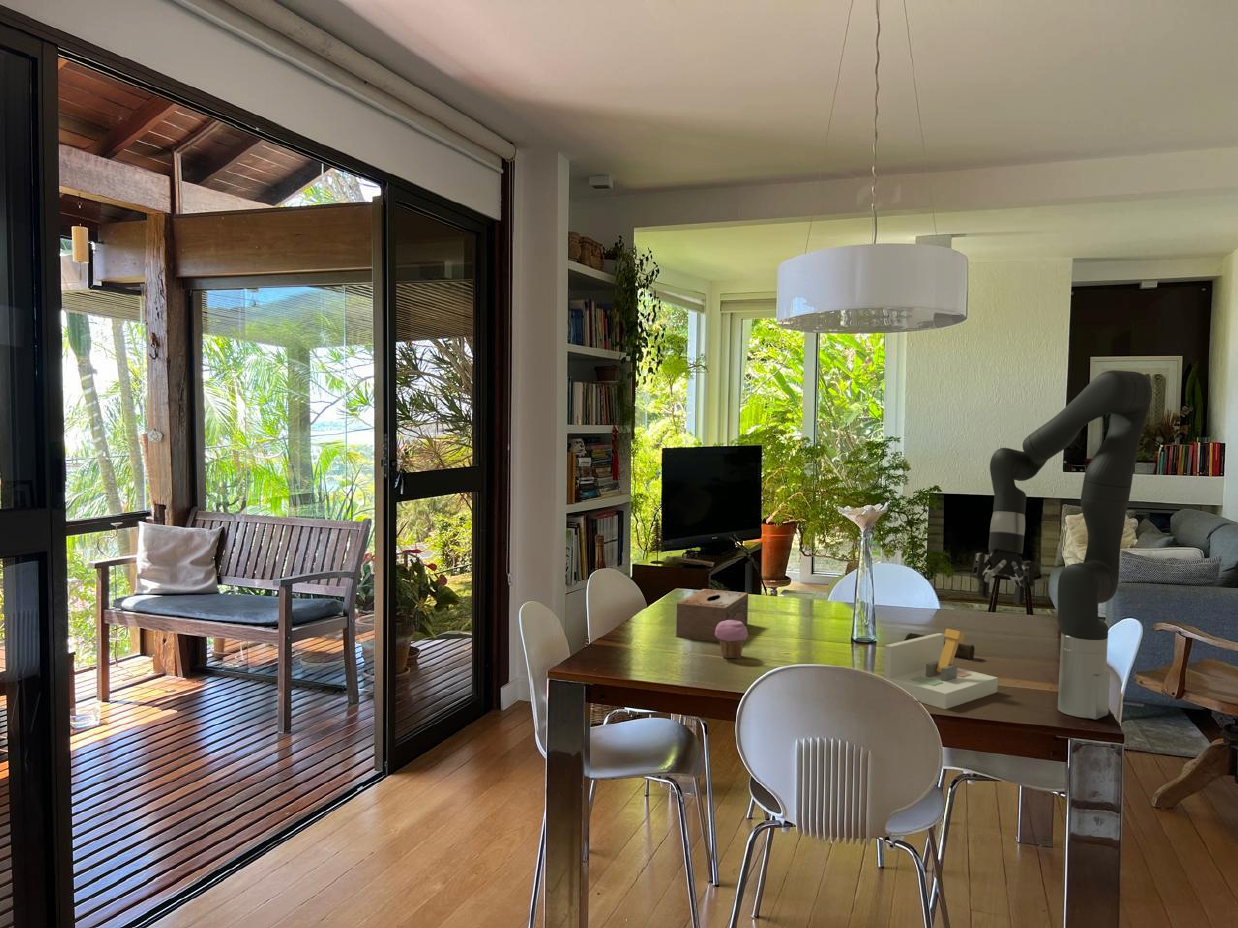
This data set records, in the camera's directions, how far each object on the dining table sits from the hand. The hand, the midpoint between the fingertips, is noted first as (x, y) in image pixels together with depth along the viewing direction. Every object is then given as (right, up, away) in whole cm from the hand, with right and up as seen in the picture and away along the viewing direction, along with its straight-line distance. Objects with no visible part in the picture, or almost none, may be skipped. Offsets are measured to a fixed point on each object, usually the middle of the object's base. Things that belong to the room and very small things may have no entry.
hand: (1000, 601), depth 217 cm
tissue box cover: (-61, -18, +60) cm, 88 cm away
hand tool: (-2, -20, +37) cm, 43 cm away
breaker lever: (-14, -18, +1) cm, 23 cm away
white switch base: (-14, -22, +1) cm, 26 cm away
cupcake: (-60, -19, +30) cm, 69 cm away
